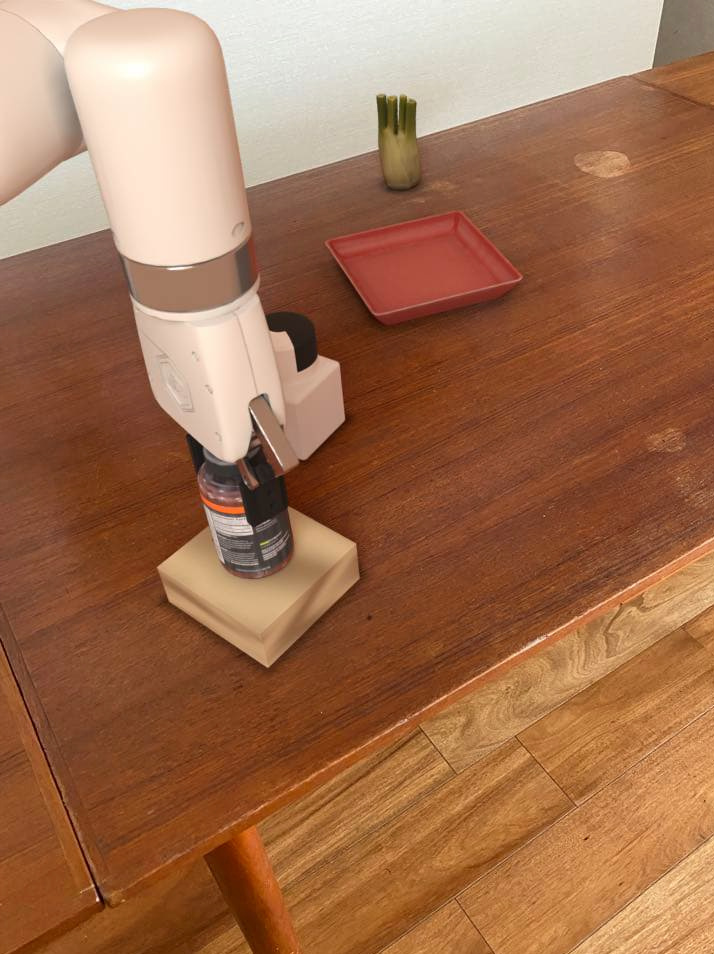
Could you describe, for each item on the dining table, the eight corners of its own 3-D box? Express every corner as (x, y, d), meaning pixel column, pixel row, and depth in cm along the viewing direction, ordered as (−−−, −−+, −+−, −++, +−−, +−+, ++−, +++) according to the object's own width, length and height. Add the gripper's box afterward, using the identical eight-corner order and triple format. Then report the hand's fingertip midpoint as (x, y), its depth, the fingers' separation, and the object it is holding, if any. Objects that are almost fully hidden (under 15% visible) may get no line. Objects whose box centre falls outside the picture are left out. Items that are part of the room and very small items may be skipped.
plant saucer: (375, 340, 95) (374, 314, 92) (325, 263, 106) (322, 238, 104) (523, 304, 99) (526, 277, 97) (459, 233, 111) (460, 209, 108)
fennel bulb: (375, 183, 121) (370, 92, 112) (404, 174, 123) (402, 84, 114) (397, 198, 118) (394, 106, 109) (427, 189, 120) (426, 97, 111)
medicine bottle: (288, 399, 88) (271, 294, 79) (346, 421, 86) (336, 315, 77) (245, 439, 84) (222, 333, 75) (305, 463, 81) (289, 356, 73)
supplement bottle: (246, 518, 70) (221, 407, 62) (309, 540, 68) (292, 429, 60) (203, 568, 67) (170, 457, 58) (269, 593, 65) (244, 482, 57)
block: (268, 670, 66) (259, 634, 62) (169, 603, 70) (156, 567, 67) (360, 580, 71) (356, 543, 68) (263, 524, 76) (255, 487, 73)
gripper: (62, 232, 52) (137, 456, 65) (216, 354, 43) (267, 586, 56) (170, 193, 56) (221, 414, 69) (335, 298, 46) (357, 530, 60)
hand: (241, 490), depth 62 cm, fingers closed on supplement bottle, 5 cm apart
